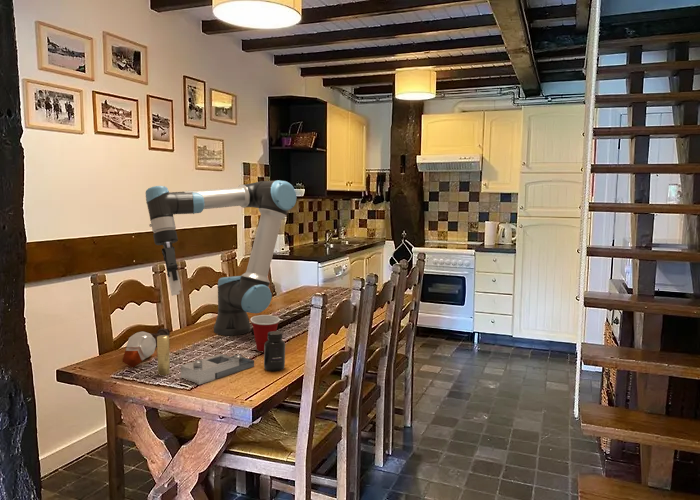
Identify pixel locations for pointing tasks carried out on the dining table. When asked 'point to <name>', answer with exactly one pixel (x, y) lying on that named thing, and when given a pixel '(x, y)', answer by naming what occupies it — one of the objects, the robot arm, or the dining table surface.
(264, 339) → the plastic cup
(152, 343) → the potion bottle
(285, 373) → the dining table surface
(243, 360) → the lower chain end
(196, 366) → the grey socket block
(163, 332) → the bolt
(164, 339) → the brass pin
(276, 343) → the supplement bottle
